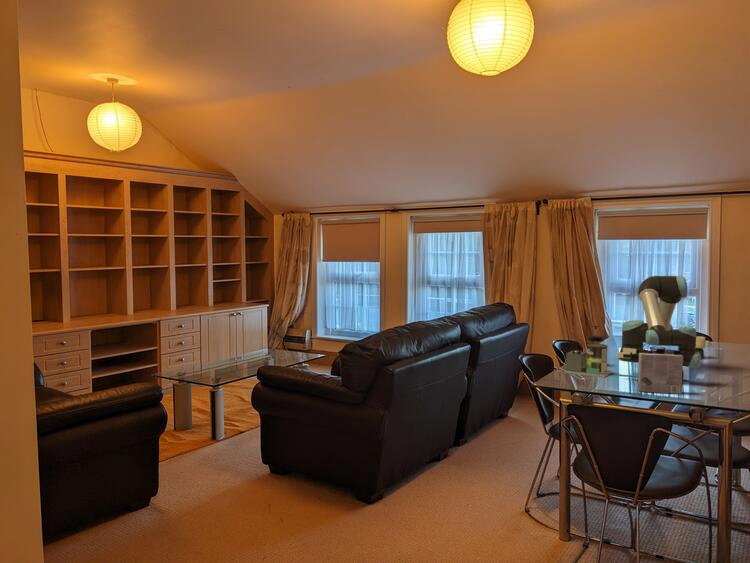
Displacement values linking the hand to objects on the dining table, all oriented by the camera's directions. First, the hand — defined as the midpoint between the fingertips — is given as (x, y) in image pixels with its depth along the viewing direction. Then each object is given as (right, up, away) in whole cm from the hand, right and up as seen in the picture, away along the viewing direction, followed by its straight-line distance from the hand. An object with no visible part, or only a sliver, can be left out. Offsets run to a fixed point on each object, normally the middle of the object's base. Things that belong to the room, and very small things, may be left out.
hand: (619, 352), depth 306 cm
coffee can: (-9, -11, +7) cm, 16 cm away
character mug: (+68, -10, +49) cm, 84 cm away
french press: (-3, -11, +27) cm, 29 cm away
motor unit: (-13, -12, +9) cm, 20 cm away
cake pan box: (+5, -15, -34) cm, 37 cm away
